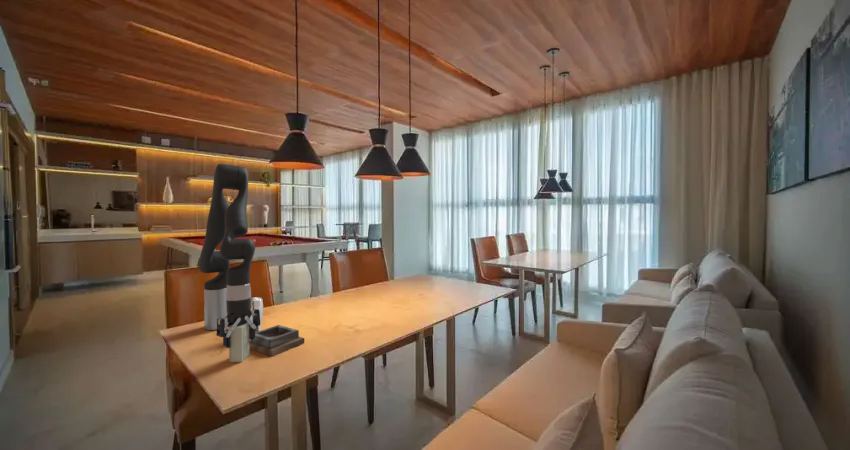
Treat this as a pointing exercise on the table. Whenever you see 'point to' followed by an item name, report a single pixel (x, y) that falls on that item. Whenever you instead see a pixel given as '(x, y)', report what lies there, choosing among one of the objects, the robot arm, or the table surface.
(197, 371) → the table surface
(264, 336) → the pocket stand
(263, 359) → the table surface
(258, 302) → the beer glass
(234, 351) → the skincare box
